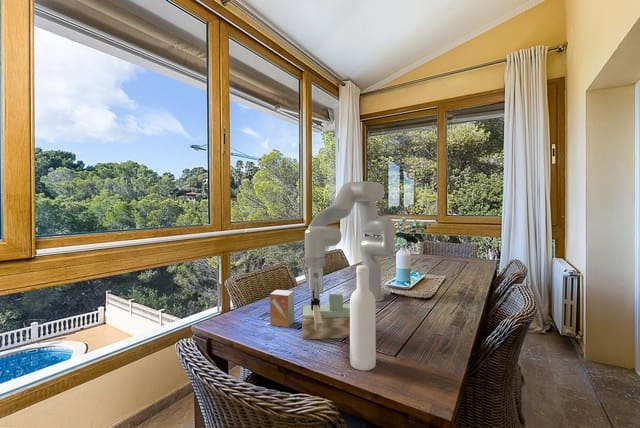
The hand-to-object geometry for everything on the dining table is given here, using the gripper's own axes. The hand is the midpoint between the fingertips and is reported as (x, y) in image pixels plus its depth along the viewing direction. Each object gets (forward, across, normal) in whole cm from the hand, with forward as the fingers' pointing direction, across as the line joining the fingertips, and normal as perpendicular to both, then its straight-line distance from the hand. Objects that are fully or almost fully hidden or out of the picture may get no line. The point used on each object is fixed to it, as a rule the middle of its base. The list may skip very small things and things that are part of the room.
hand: (315, 309), depth 109 cm
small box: (+9, +10, +13) cm, 19 cm away
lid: (+2, +2, -5) cm, 6 cm away
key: (+1, -10, 0) cm, 10 cm away
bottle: (+9, -22, -13) cm, 27 cm away
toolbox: (+9, +2, -5) cm, 11 cm away
